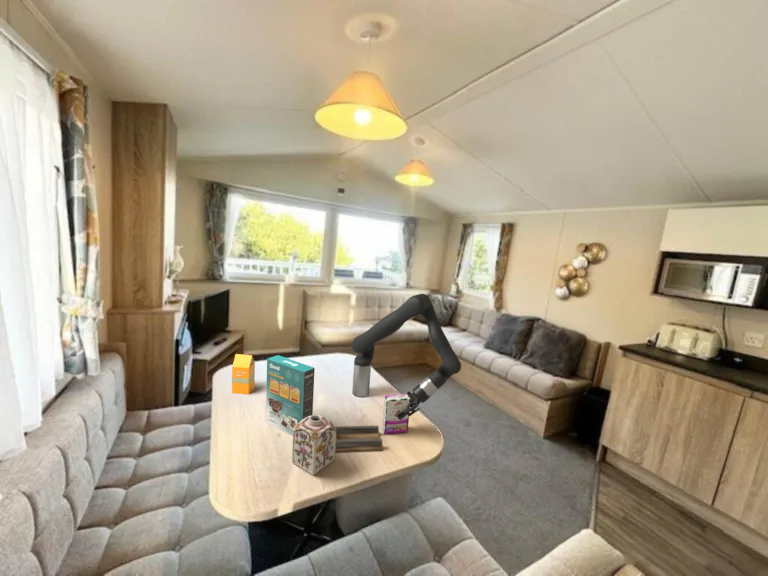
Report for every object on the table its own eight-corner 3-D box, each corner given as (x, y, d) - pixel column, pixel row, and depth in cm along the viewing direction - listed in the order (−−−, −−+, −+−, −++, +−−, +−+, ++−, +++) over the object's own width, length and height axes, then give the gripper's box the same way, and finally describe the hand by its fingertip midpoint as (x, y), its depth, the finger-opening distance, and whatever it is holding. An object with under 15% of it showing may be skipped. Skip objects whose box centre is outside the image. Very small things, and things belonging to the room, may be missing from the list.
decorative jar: (291, 462, 127) (292, 418, 124) (313, 448, 136) (315, 406, 133) (313, 477, 120) (316, 430, 117) (335, 460, 130) (338, 417, 127)
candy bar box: (404, 426, 157) (407, 393, 154) (407, 432, 152) (411, 398, 149) (381, 428, 154) (384, 394, 151) (384, 434, 149) (386, 400, 146)
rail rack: (331, 432, 148) (332, 424, 147) (377, 430, 151) (377, 423, 151) (332, 452, 134) (332, 444, 134) (381, 450, 138) (382, 442, 137)
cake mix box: (311, 433, 146) (314, 367, 141) (301, 440, 140) (304, 372, 136) (276, 416, 156) (277, 355, 152) (265, 422, 151) (267, 358, 147)
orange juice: (248, 394, 175) (249, 357, 172) (231, 393, 175) (231, 356, 172) (254, 387, 183) (255, 352, 180) (238, 386, 183) (238, 351, 180)
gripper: (416, 377, 158) (389, 401, 158) (424, 391, 144) (395, 418, 144) (426, 387, 160) (399, 411, 160) (435, 403, 146) (406, 429, 146)
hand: (397, 414), depth 152 cm, fingers closed on candy bar box, 5 cm apart
